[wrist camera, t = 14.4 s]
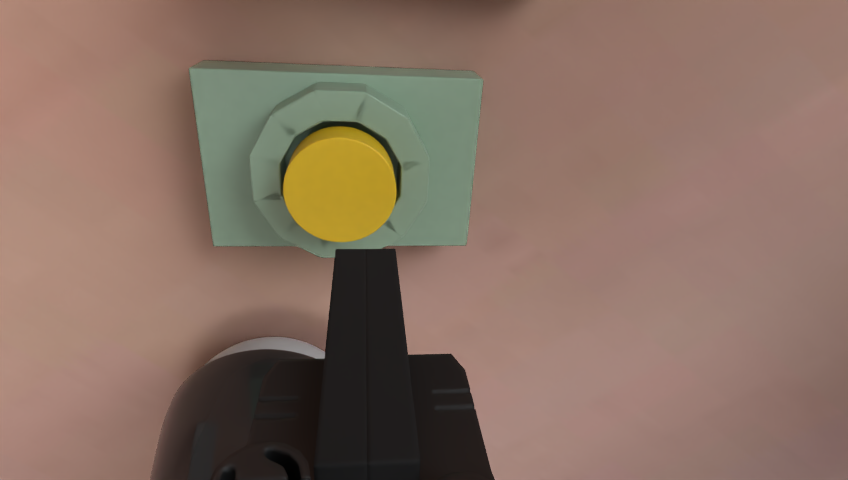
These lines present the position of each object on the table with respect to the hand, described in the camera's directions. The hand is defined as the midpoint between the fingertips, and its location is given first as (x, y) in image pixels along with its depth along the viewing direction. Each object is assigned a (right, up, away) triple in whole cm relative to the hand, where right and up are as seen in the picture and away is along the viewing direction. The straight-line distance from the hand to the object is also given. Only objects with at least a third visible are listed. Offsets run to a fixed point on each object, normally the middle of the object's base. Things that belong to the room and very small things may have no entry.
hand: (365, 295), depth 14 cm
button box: (-2, +6, +12) cm, 13 cm away
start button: (-2, +4, +8) cm, 10 cm away
